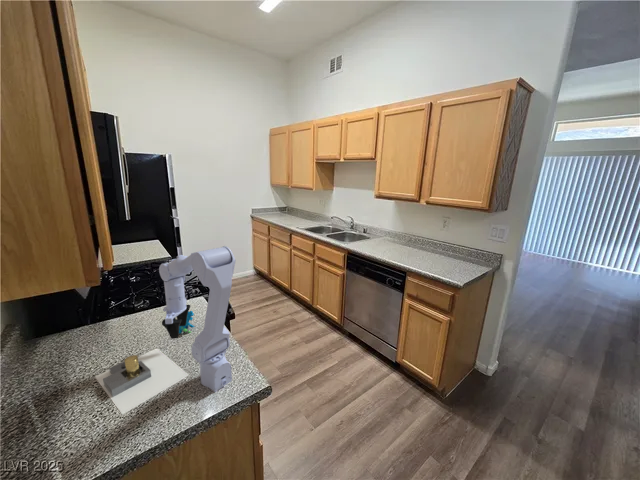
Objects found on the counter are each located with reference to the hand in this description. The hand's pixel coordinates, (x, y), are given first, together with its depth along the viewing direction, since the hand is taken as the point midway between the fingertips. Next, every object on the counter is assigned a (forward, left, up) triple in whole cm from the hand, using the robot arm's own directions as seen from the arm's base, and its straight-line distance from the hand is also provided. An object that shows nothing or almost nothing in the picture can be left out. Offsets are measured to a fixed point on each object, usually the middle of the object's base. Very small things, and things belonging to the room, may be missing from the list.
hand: (178, 331), depth 92 cm
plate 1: (+2, +15, -8) cm, 17 cm away
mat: (-2, +13, -9) cm, 16 cm away
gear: (+13, -9, -10) cm, 19 cm away
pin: (-1, +15, -8) cm, 17 cm away
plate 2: (-1, +16, -8) cm, 19 cm away
